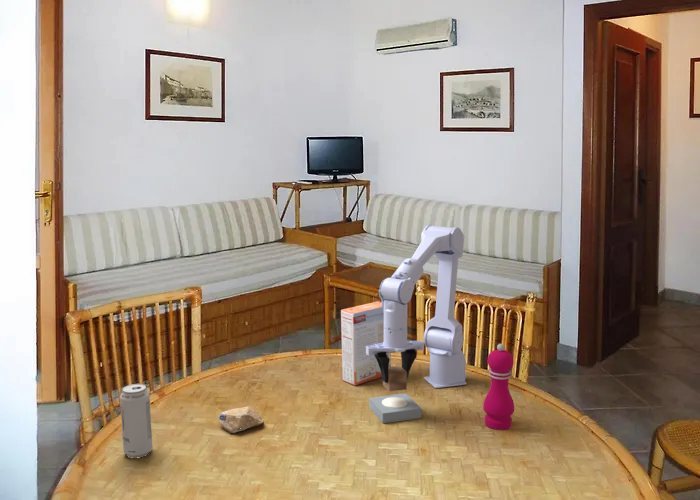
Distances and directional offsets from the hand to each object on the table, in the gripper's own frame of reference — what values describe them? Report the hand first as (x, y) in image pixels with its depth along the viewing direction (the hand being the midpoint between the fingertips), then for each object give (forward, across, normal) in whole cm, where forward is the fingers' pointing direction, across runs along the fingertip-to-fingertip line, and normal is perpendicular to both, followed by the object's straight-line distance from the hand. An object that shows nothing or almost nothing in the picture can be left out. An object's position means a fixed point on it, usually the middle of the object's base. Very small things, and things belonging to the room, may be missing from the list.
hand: (394, 380), depth 166 cm
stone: (+9, -37, +4) cm, 38 cm away
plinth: (+8, 0, 0) cm, 8 cm away
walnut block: (+2, 0, 0) cm, 2 cm away
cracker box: (+9, +1, +25) cm, 26 cm away
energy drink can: (+9, -61, -3) cm, 62 cm away
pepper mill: (+9, +21, -14) cm, 27 cm away
